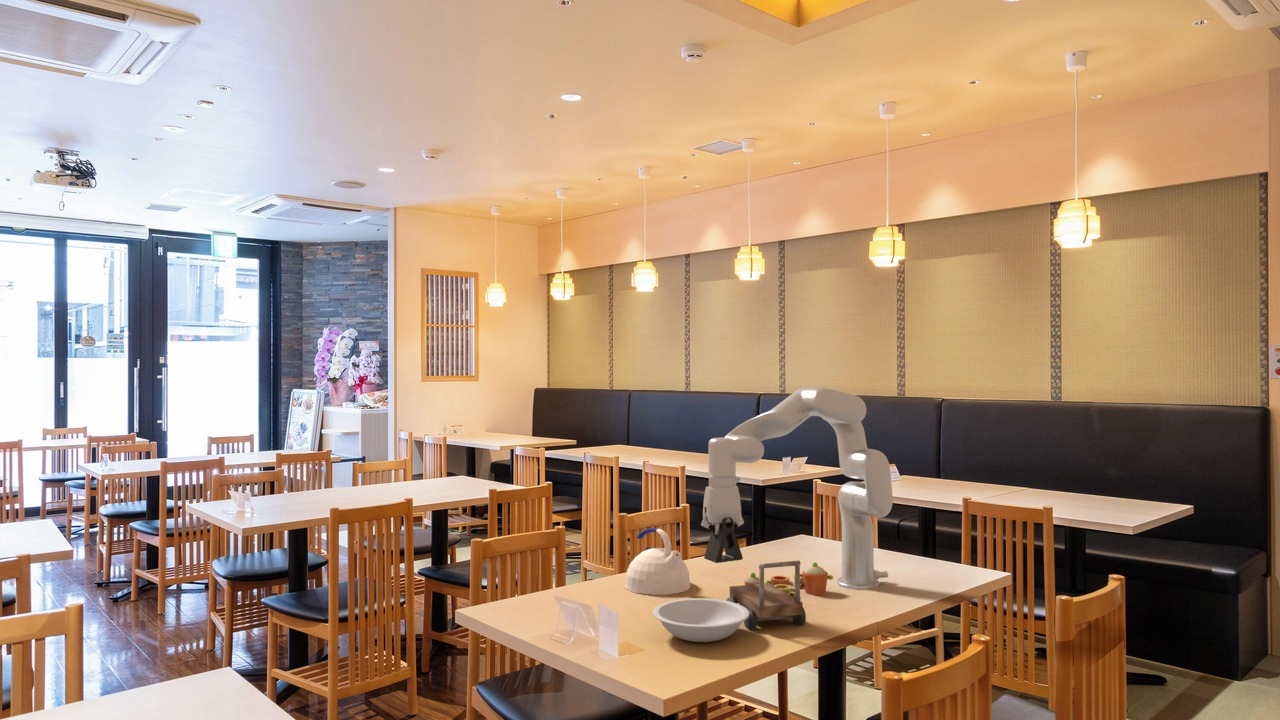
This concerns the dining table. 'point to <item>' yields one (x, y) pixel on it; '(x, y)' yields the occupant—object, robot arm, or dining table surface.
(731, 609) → the soup bowl
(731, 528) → the phone stand
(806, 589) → the toy tea set
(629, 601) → the dining table surface
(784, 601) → the trolley
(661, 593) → the kettle
